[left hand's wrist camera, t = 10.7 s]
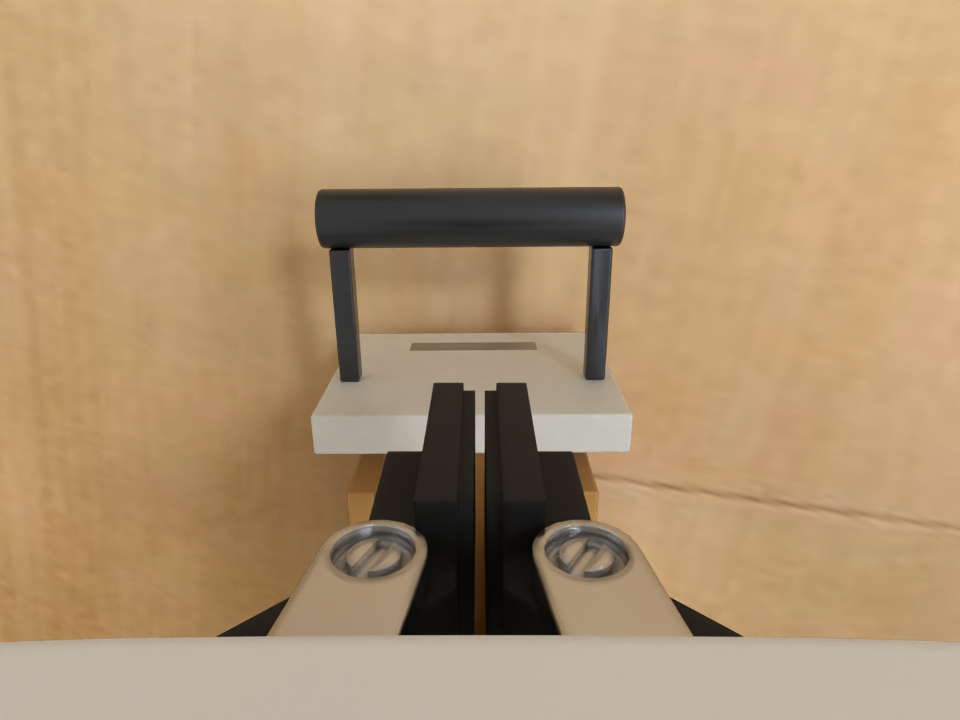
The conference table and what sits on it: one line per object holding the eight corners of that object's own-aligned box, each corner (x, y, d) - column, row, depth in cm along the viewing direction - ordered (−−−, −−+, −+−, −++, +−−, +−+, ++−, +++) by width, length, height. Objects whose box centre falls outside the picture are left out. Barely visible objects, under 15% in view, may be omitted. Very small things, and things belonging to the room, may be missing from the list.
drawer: (343, 174, 23) (287, 202, 16) (600, 172, 23) (650, 198, 16) (381, 678, 31) (354, 838, 24) (574, 677, 31) (600, 837, 24)
